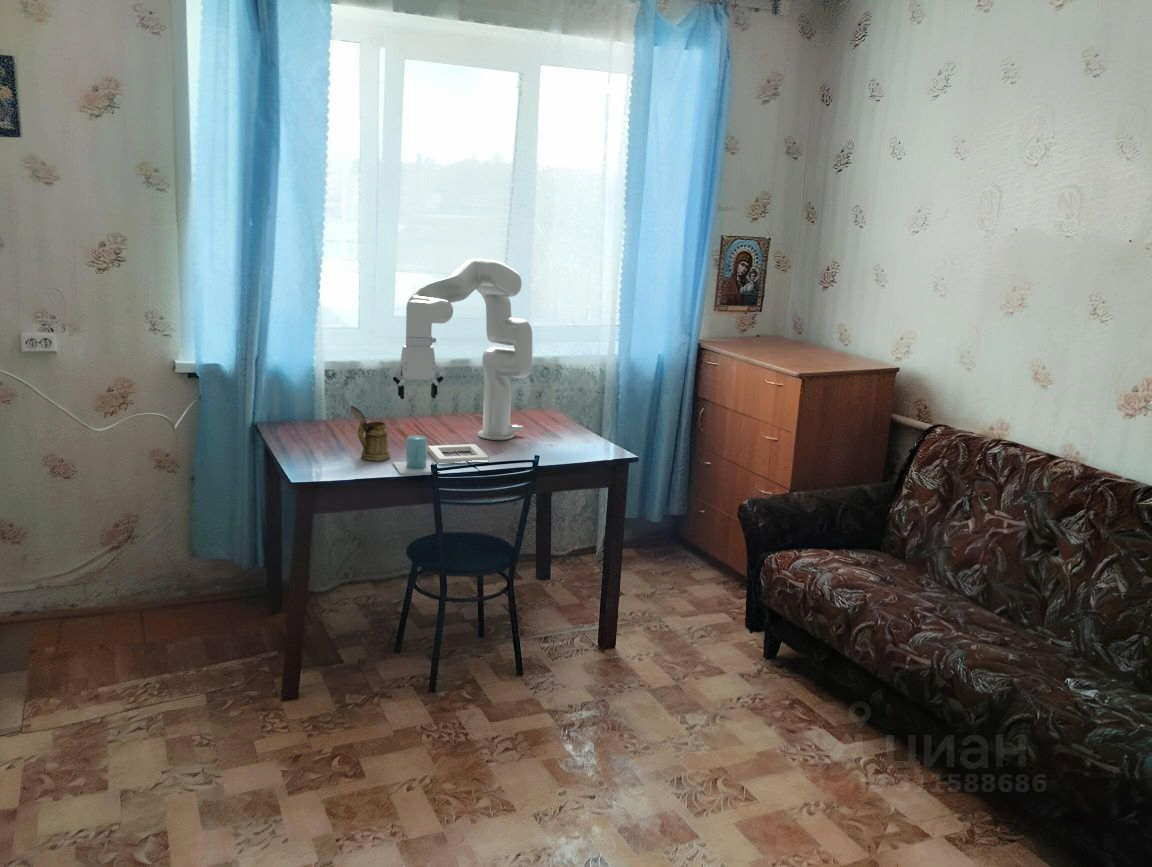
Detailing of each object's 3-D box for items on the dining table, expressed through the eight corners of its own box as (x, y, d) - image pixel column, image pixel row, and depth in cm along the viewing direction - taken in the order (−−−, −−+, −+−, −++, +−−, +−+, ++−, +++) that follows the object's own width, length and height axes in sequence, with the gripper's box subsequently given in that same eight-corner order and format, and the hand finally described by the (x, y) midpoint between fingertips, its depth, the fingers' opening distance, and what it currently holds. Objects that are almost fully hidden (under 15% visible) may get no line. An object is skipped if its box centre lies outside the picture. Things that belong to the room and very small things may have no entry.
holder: (475, 449, 329) (475, 444, 329) (488, 462, 315) (488, 456, 314) (427, 451, 323) (428, 445, 323) (439, 464, 309) (439, 459, 308)
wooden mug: (343, 458, 309) (343, 402, 305) (380, 452, 318) (380, 398, 314) (358, 465, 303) (359, 408, 299) (395, 459, 312) (396, 403, 308)
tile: (430, 462, 311) (430, 460, 311) (439, 473, 300) (439, 471, 300) (392, 464, 307) (392, 462, 306) (400, 474, 296) (400, 473, 296)
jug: (404, 463, 305) (405, 435, 303) (423, 463, 307) (424, 435, 305) (409, 471, 298) (410, 443, 295) (429, 470, 300) (430, 442, 297)
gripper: (444, 339, 300) (442, 394, 305) (387, 339, 294) (386, 395, 298) (450, 343, 294) (448, 399, 298) (392, 344, 287) (391, 401, 292)
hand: (417, 397), depth 298 cm, fingers open, 9 cm apart
